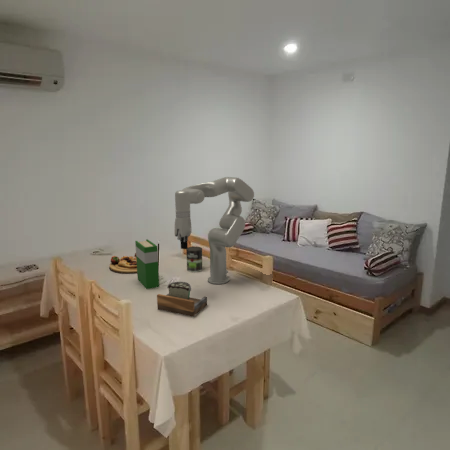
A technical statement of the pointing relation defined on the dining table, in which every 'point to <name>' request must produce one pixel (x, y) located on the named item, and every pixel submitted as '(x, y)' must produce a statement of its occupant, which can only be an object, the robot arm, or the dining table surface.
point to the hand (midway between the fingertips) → (184, 248)
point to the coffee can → (194, 259)
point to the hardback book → (147, 264)
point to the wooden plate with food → (124, 264)
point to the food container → (179, 290)
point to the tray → (181, 304)
